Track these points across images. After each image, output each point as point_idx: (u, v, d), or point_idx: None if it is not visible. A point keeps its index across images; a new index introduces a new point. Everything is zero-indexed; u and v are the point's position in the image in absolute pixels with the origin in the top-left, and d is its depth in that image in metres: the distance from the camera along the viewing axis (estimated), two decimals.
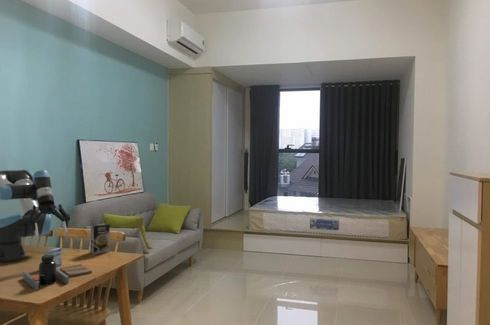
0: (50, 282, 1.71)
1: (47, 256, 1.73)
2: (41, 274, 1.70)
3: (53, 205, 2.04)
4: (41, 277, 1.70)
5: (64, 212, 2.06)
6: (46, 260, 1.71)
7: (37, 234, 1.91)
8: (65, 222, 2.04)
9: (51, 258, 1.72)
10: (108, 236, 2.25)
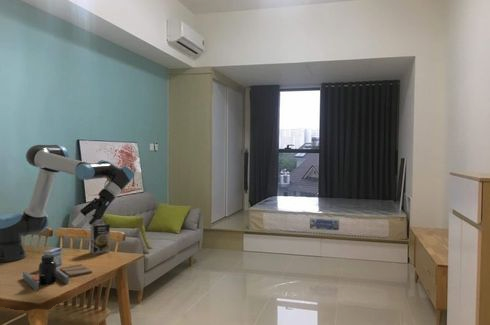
0: (50, 282, 1.71)
1: (47, 256, 1.73)
2: (41, 274, 1.70)
3: None
4: (41, 277, 1.70)
5: None
6: (46, 260, 1.71)
7: (86, 230, 1.78)
8: None
9: (51, 258, 1.72)
10: (108, 236, 2.25)
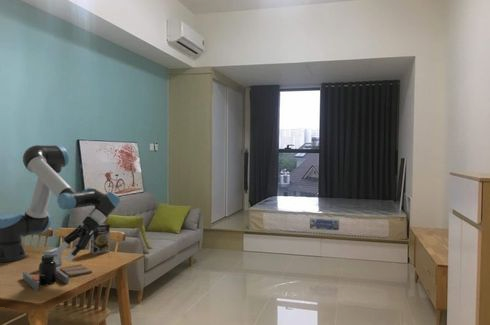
0: (50, 282, 1.71)
1: (47, 256, 1.73)
2: (41, 274, 1.70)
3: None
4: (41, 277, 1.70)
5: None
6: (46, 260, 1.71)
7: None
8: None
9: (51, 258, 1.72)
10: (108, 236, 2.25)
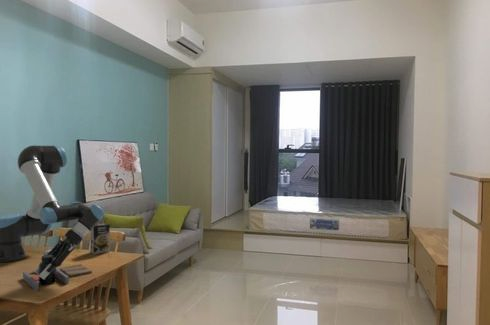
0: (50, 282, 1.71)
1: (47, 256, 1.73)
2: None
3: None
4: None
5: None
6: (46, 260, 1.71)
7: None
8: None
9: (51, 258, 1.72)
10: (108, 236, 2.25)
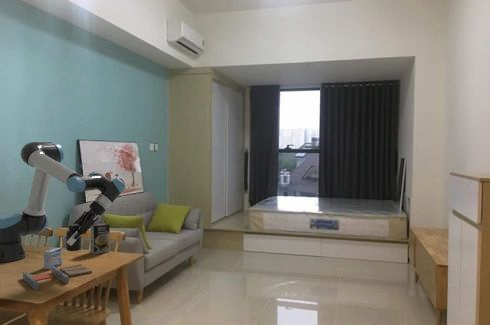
0: (76, 248, 1.85)
1: (73, 225, 1.86)
2: None
3: None
4: (68, 244, 1.84)
5: None
6: (73, 228, 1.84)
7: (71, 245, 1.83)
8: None
9: (77, 226, 1.86)
10: (108, 236, 2.25)
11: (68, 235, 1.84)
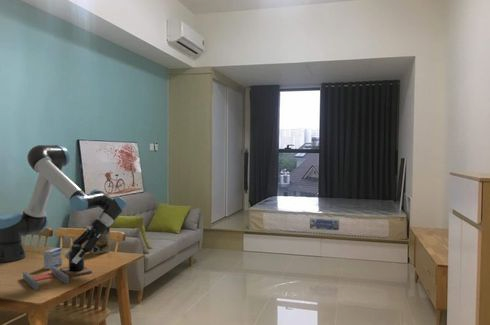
0: (79, 269, 1.87)
1: (76, 245, 1.88)
2: (71, 261, 1.86)
3: None
4: (71, 264, 1.86)
5: None
6: (75, 249, 1.86)
7: (76, 263, 1.84)
8: None
9: (80, 247, 1.88)
10: (108, 236, 2.25)
11: (71, 256, 1.86)
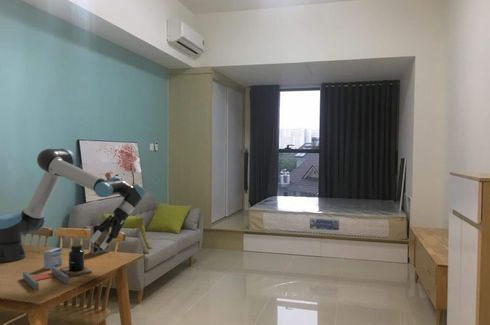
0: (79, 269, 1.87)
1: (76, 245, 1.88)
2: (71, 261, 1.86)
3: None
4: (71, 264, 1.86)
5: None
6: (75, 249, 1.86)
7: None
8: None
9: (80, 247, 1.88)
10: None
11: (71, 256, 1.86)
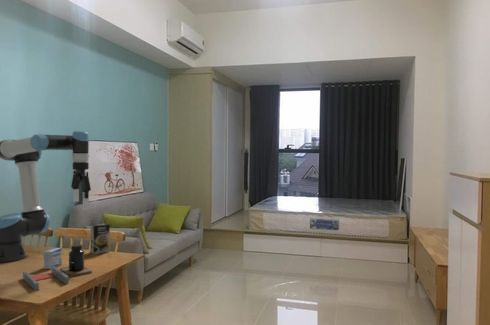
0: (79, 269, 1.87)
1: (76, 245, 1.88)
2: (71, 261, 1.86)
3: None
4: (71, 264, 1.86)
5: None
6: (75, 249, 1.86)
7: (88, 203, 1.96)
8: None
9: (80, 247, 1.88)
10: (108, 236, 2.25)
11: (71, 256, 1.86)
